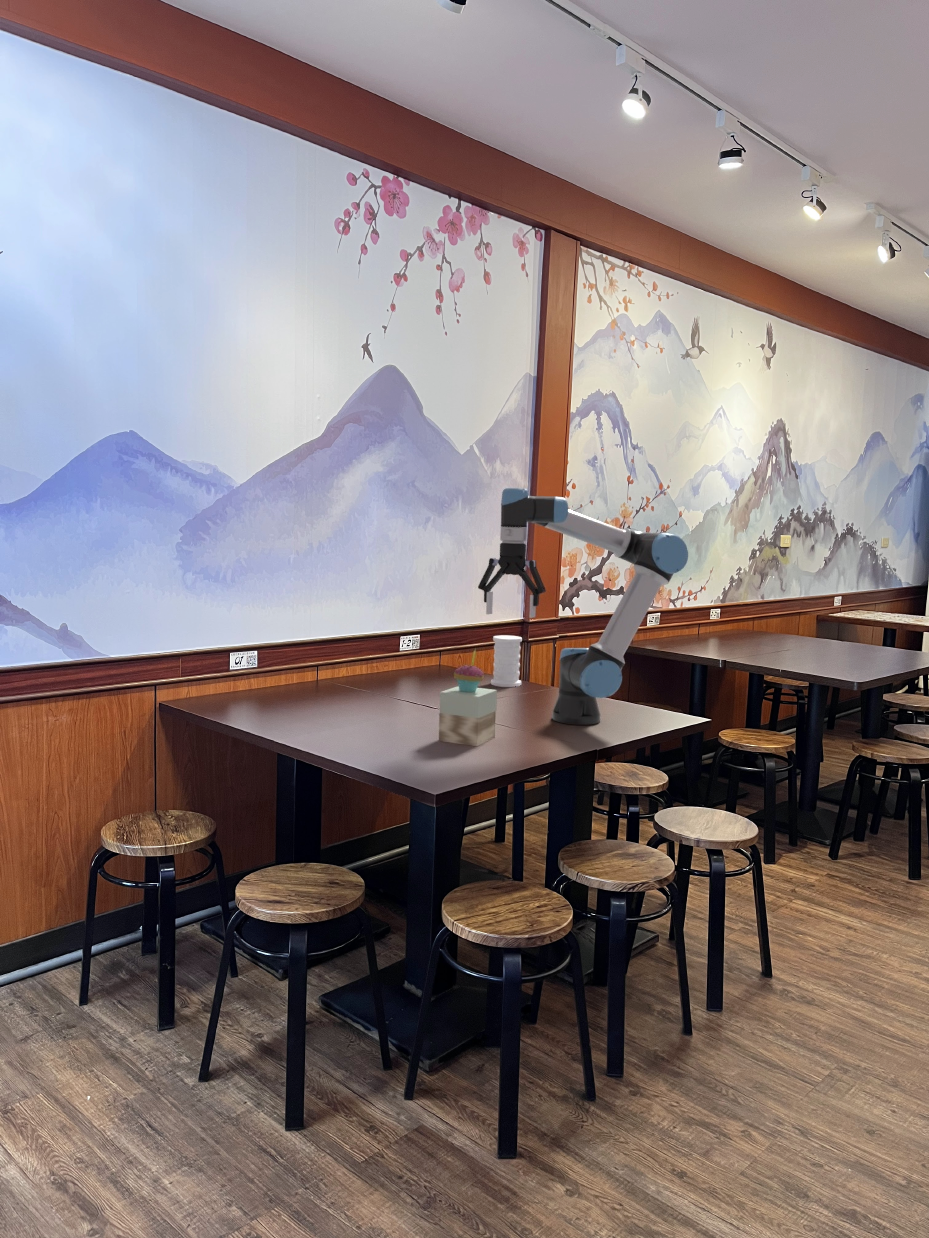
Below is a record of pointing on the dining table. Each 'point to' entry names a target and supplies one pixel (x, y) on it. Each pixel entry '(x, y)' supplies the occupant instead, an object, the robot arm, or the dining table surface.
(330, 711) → the dining table surface
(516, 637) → the decorative container
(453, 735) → the tower base
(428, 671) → the dining table surface
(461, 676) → the cupcake
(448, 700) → the tower top
